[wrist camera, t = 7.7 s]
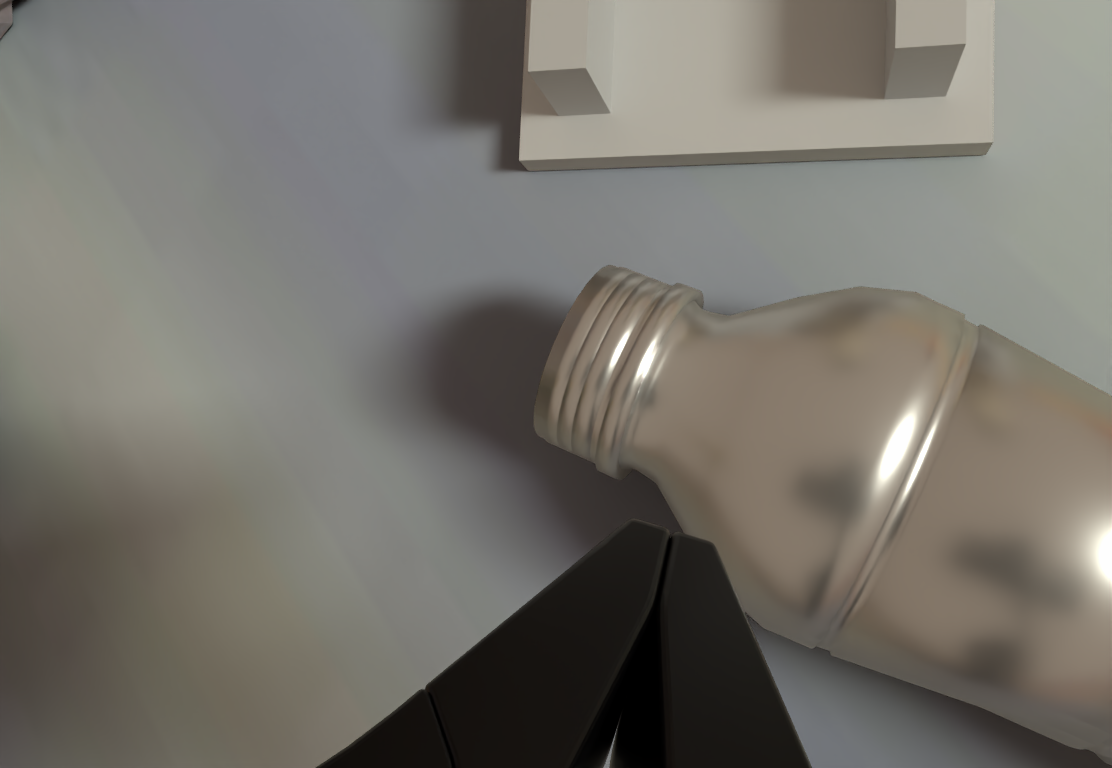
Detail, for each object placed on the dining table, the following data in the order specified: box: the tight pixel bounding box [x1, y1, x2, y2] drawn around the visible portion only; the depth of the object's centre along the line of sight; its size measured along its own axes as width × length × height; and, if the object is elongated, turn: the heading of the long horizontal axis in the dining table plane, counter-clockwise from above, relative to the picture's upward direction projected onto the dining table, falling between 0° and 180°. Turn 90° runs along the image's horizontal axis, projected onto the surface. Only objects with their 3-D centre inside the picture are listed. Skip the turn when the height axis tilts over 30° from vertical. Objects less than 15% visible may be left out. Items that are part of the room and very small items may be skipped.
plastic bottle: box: [534, 265, 1112, 766], centre depth 16 cm, size 6×7×20 cm
